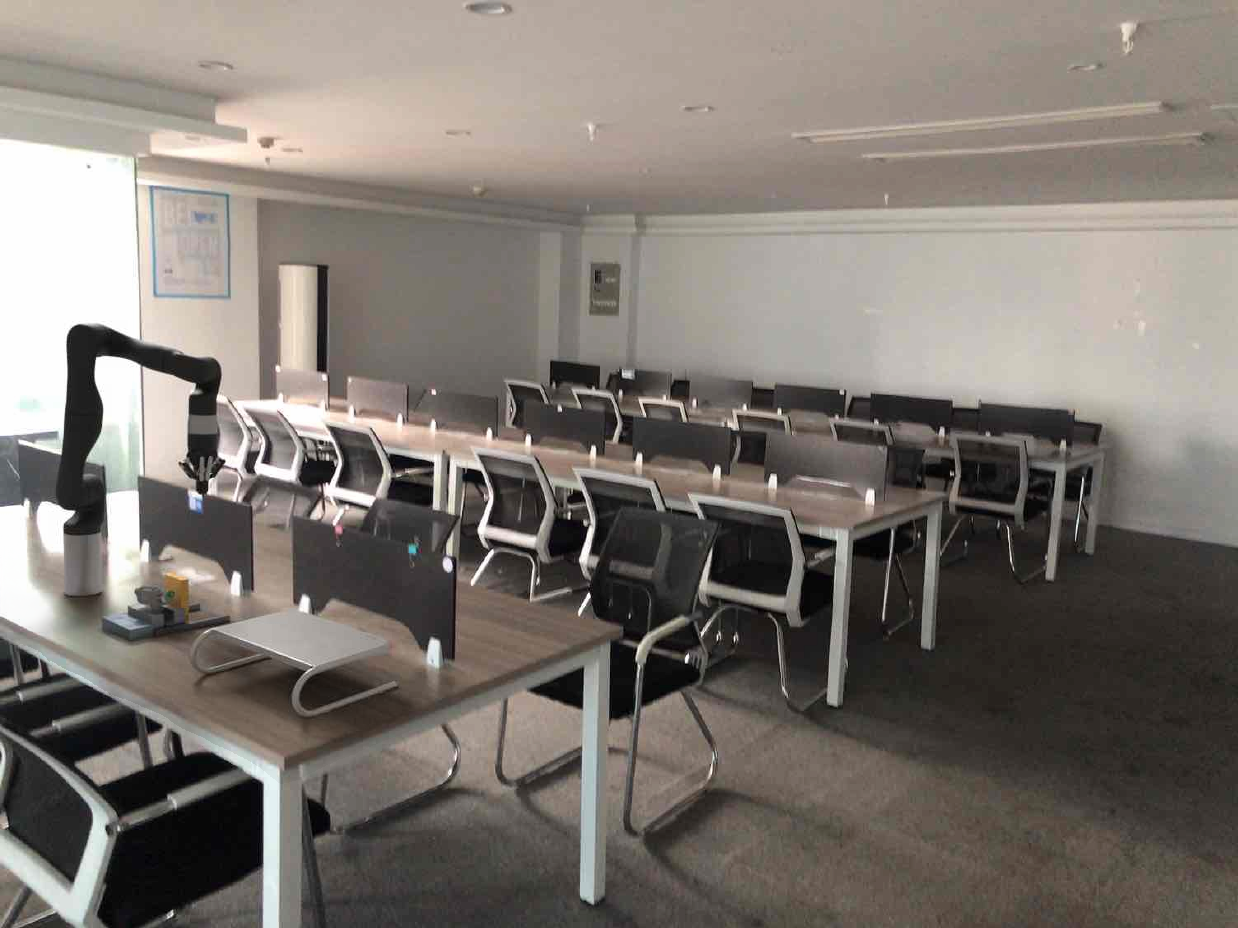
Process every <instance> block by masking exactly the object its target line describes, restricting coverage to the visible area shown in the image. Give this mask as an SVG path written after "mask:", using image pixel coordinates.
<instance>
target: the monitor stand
mask: <svg viewBox="0 0 1238 928" xmlns="http://www.w3.org/2000/svg"><path fill="white" fill-rule="evenodd" d="M213 635H214V636H215V638H217V639H220V640H223V641H225V642H228V643H231V644H234V645H236V646H239V647H241V648H245V649H247V650H249V651H252V652H255V653H258V654H256V655H252V656H248V657H244V658H242V659H238V660H234V661H230V662H227V663H224V664H220V665H217V666H213V667H209V668H205V667H203V666H201V665H200V663H199V662H198V660H197V652H198V649H199V647H200V646H201V644H202V643H203V641H205V639H207V638H208V637H211V636H213ZM390 645H391V644H390V642H389V641H388V640H387V639H386V638H383V637H381V636H377V635H376V634H373V633H372V634H371V633H369V632H365V631H362V630H359V629H357V628H354V627H351V626H347V625H346V624H341V623H338V622H336V621H333V620H330V619H327V618H323V617H321V616H318V615H314V614H311V613H308V612H305V611H301V610H300V611H299V610H283V611H277V612H273V613H269V614H265V615H261V616H258V617H252V618H249V619H245V620H241V621H237V622H233V623H228V624H224V625H220V626H216V627H213V628H210V629H207V630H206V631H204V632H203V633H201V634H200V635H199V636H197V638H196V639H195V640H194V642H193V643H192V645H191V647H190V650H189V653H188V657H189V659H188V661H189V663H190V665H191V667H192V668H193V670H195V671H196V672H197V673H199V674H202V675H213V674H216V672H217V673H219V671H220V672H224V670H225V671H228V670H230V669H229V668H231V669H233V668H232V667H234V668H236V667H235V666H238V667H241V666H244V665H243V664H245V665H248V664H251V663H250V662H252V663H254V662H253V661H255V662H259V661H262V660H265V658H266V659H268V658H270V659H273V660H276V661H279V662H281V663H284V664H286V665H289V666H292V667H295V668H297V669H299V670H302V671H305V672H304V673H303V674H302V675H301V676H300V678H299V679H298V680H297V682H296V683H295V685H294V687H293V690H292V693H291V704H292V707H293V709H294V711H295V712H296V713H297V714H298V715H300V716H302V717H306V718H312V717H311V716H314V717H316V715H317V716H320V715H322V714H321V713H323V714H326V712H327V713H330V712H331V711H330V710H332V709H334V708H337V709H339V707H340V708H342V707H344V705H345V706H347V705H346V704H348V703H351V704H353V703H356V702H358V701H357V700H359V701H361V700H360V699H362V700H364V698H365V699H367V698H369V696H370V697H372V696H371V695H373V696H375V695H374V694H376V695H378V693H380V694H383V693H384V692H386V691H385V690H387V689H390V690H392V689H394V688H393V687H395V688H397V687H398V682H397V681H395V680H394V681H391V682H388V683H386V684H383V685H380V686H377V687H374V688H371V689H369V690H366V691H363V692H360V693H357V694H354V695H351V696H348V697H345V698H342V699H340V700H337V701H335V702H332V703H329V704H325V705H323V706H320V707H317V708H314V709H312V710H307V709H305V708H304V707H302V705H301V702H300V694H301V692H302V691H301V690H302V688H303V687H304V685H305V683H306V682H307V681H308V680H309V679H310V678H311V677H312V676H314V675H316V674H320V673H324V672H326V671H329V670H332V669H335V668H339V667H342V666H344V665H345V666H346V665H348V664H351V663H355V662H358V661H361V660H364V659H367V658H370V657H373V656H376V655H379V654H380V655H381V654H382V653H385V652H387V651H388V650H389V649H390ZM258 660H259V661H258ZM247 663H248V664H247ZM240 665H241V666H240ZM227 669H228V670H227ZM212 673H213V674H212ZM396 686H397V687H396ZM391 688H392V689H391ZM383 691H384V692H383ZM387 691H388V690H387ZM382 692H383V693H382ZM366 697H367V698H366ZM355 701H356V702H355ZM352 702H353V703H352ZM348 705H349V704H348ZM341 706H342V707H341ZM334 710H335V709H334ZM329 711H330V712H329ZM332 711H333V710H332ZM319 714H320V715H319Z"/></svg>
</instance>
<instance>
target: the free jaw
mask: <svg viewBox="0 0 1238 928" xmlns="http://www.w3.org/2000/svg"><path fill="white" fill-rule="evenodd" d="M189 588H190V587H189V578H186V577H184V576H181V575H179V574H177V573H174V572H170V573H169V572H167V573H164V592H165V591H166V590H172V591H174V596H173V597H174V599H173V601H172V602H170V603H168V604H167V605H165V606H161V607H162V609H161V610H160V612H161V613H163V614H164V627H165V628H167V627H171V626H176V625H180V624H185V623H190V622H189V620H190V619H189V617H190V616H189V615H190V613H189V612H190V611H189V604H190V603H189V594H190V593H189V591H190V590H189ZM162 600H164V599H162ZM149 608H151V605H149Z"/></svg>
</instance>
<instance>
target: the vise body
mask: <svg viewBox="0 0 1238 928" xmlns="http://www.w3.org/2000/svg"><path fill="white" fill-rule="evenodd" d="M200 609H201V603H200V602H195V603H194V602H193V603H189V612H192V611H197V610H200ZM226 622H227V623H228V622H231V615H230V614H222V615H219V616H213V617H209V618H204V619H199V620H194V621H190V622H189V623H185V624H180V625H176V626H171V627H165V626H164V614H163V613H160V612H158V611H156V610H153V609H151V608H150V606H146V605H145V604H140V603H134V604H130V605H127V612H126V611H125V612H121V613H116V614H111V615H106V616H105V615H104V616H101V629H102V630H104V631H106V632H108V633H110V634H113V635H114V636H117V637H119V638H120V639H123V640H125V641H127V642H130V643H131V642H135V641H140V640H141V641H142V640H145V639H150V638H158V637H164V636H168V634H169V635H172V634H177V633H181V632H185V631H186V632H187V631H190V630H195V629H196V630H197V629H200V628H203V627H204V628H205V627H209V626H213V624H214V625H217V624H218V625H219V624H223V623H226Z"/></svg>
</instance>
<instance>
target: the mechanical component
mask: <svg viewBox="0 0 1238 928" xmlns="http://www.w3.org/2000/svg"><path fill="white" fill-rule="evenodd" d="M134 594H135V596H136V600H137V602H138V604H142V605H147V606H148V605H149V606H150V605H151V609H153V610H156V611H158V612H160V610H161V609H162V607H161V606H165V605H167V604H168V603H170V602H172V601H173V599H174V597H173V596H174V591H172V590H166V591H165V590H164V591H163V590H161V587H159V586H148V585H147V586H146V585H145V586H144V585H141V586H139V587H138V588H135V589H134ZM162 599H163V600H162ZM160 613H161V612H160Z"/></svg>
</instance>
